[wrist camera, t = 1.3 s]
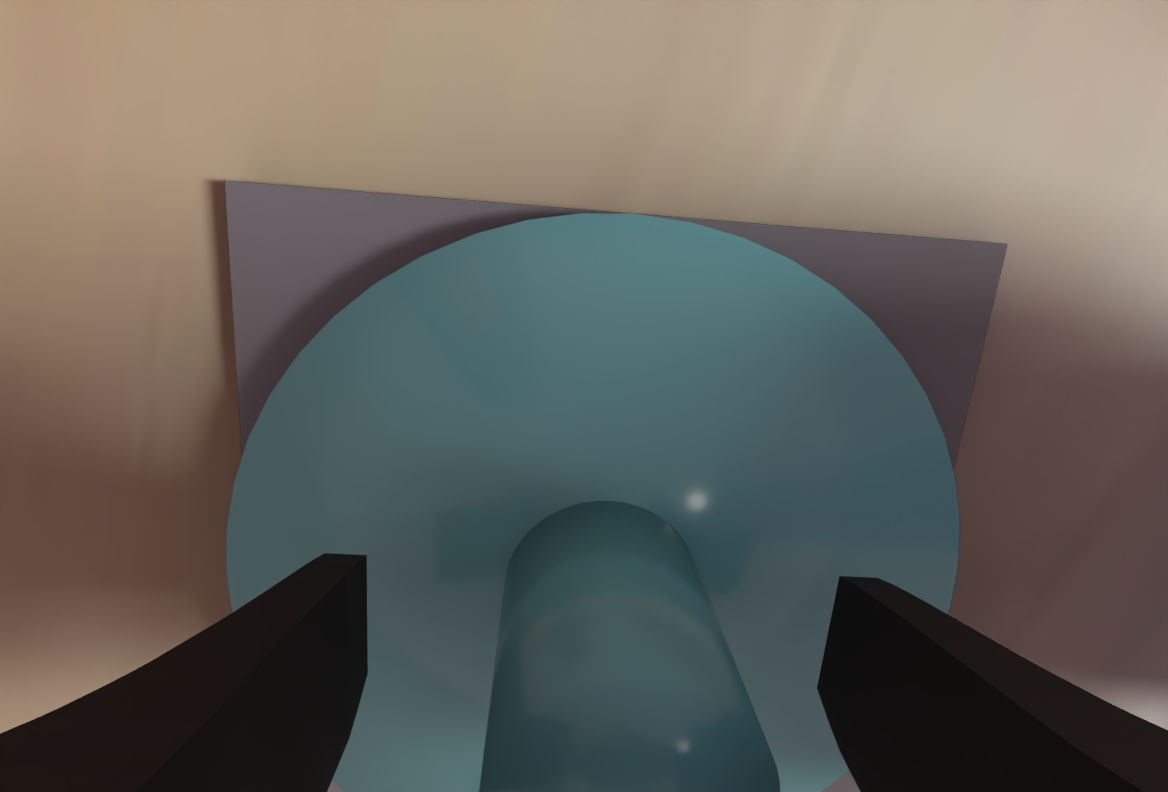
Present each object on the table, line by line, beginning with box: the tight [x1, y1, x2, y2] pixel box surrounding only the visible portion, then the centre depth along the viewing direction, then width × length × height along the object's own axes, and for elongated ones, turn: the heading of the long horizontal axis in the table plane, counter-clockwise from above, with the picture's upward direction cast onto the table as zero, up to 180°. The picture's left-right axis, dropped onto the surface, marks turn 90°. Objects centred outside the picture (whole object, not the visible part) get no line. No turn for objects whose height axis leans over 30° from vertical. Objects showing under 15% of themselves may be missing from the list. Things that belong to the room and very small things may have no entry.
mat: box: [225, 181, 1007, 792], centre depth 12 cm, size 12×12×1 cm
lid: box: [226, 213, 960, 792], centre depth 10 cm, size 12×12×5 cm
